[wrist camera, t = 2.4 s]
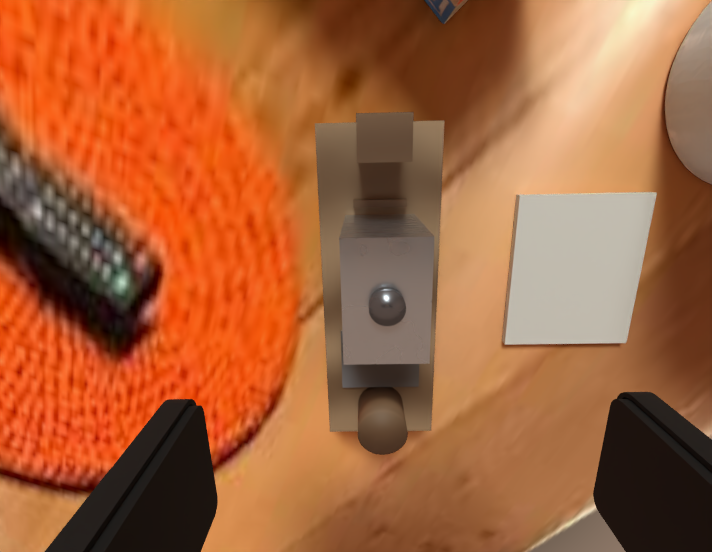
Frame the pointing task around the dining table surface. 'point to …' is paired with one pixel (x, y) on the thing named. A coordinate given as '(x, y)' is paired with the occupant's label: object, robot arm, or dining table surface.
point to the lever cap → (386, 289)
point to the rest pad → (575, 267)
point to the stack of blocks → (445, 8)
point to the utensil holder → (692, 99)
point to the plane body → (336, 199)
